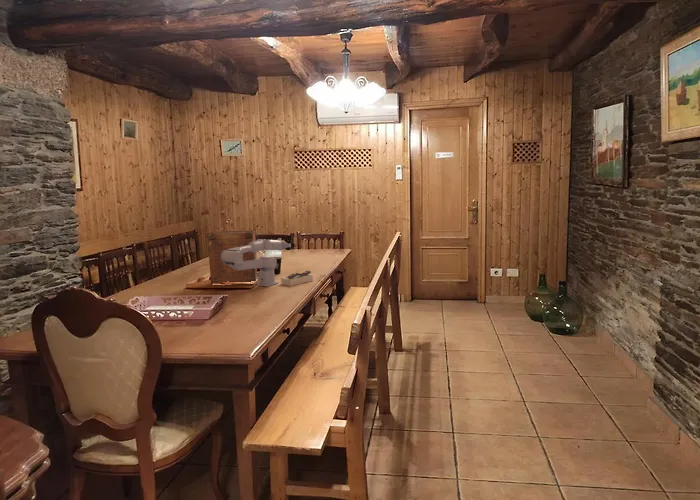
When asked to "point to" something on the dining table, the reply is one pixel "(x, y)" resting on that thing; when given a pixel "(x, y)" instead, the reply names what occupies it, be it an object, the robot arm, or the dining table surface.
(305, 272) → the rocker outer
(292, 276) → the rocker inner
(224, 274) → the carved wooden box
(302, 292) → the dining table surface
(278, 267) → the coffee mug
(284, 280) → the power strip
